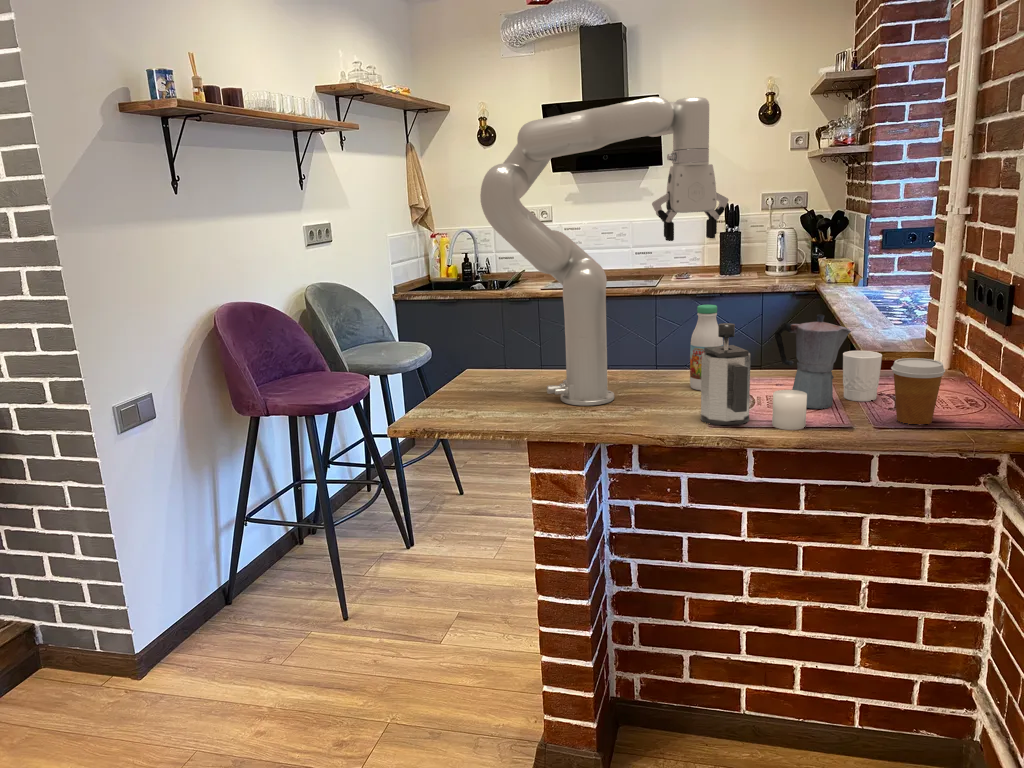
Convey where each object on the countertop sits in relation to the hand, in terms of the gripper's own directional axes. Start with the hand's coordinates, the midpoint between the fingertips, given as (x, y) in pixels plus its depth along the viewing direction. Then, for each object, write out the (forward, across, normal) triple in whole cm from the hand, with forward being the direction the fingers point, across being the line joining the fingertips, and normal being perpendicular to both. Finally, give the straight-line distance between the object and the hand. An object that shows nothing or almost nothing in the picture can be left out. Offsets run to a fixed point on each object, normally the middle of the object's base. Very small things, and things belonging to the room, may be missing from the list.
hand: (690, 239), depth 175 cm
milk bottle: (+36, +8, +8) cm, 38 cm away
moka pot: (+36, +22, -14) cm, 45 cm away
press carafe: (+36, 0, -19) cm, 41 cm away
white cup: (+36, +35, -13) cm, 52 cm away
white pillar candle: (+36, +10, -26) cm, 46 cm away
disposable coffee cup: (+36, +34, -32) cm, 59 cm away
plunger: (+30, 0, -18) cm, 35 cm away
